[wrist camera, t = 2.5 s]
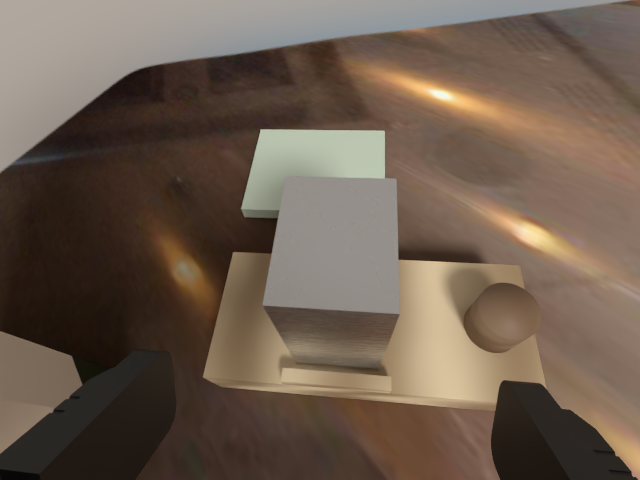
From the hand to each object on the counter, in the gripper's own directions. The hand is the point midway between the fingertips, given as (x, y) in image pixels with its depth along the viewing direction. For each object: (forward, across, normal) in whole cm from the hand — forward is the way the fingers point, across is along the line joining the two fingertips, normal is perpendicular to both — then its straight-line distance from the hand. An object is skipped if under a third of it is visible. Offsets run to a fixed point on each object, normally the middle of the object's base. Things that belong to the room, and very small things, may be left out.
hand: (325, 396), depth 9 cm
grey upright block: (+10, 0, +3) cm, 10 cm away
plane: (+12, -1, +5) cm, 13 cm away
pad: (+20, +3, -4) cm, 21 cm away
